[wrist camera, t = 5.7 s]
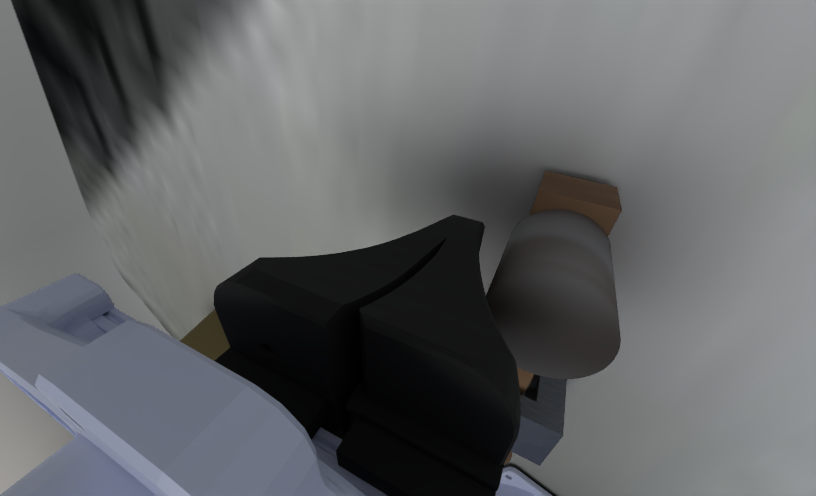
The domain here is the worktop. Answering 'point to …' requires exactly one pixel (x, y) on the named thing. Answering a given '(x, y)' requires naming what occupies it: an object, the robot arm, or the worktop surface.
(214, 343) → the cork
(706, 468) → the worktop surface
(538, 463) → the keeper
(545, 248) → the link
